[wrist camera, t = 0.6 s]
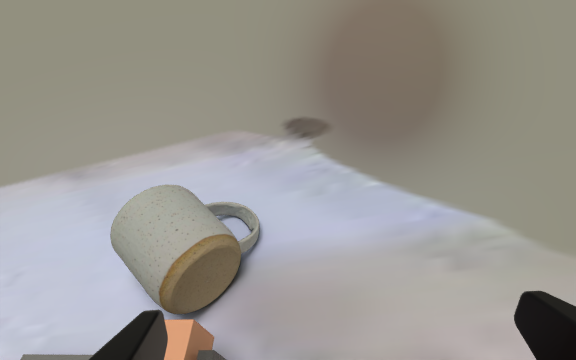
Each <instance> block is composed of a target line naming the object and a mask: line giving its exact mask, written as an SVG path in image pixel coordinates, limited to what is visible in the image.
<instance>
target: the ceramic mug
mask: <svg viewBox="0 0 576 360" xmlns="http://www.w3.org/2000/svg"><path fill="white" fill-rule="evenodd" d="M220 215H231V216H237V217H238V218H241V219H242V220H243V221H244V222H245V223H246V224H247V225H248V226H249V229H250V230H251V231H252V233H251V234H250V235H248V236H247V237H246V238H243V239H242V240H240V241H237V240H236V238H235V236H234V235H233V234H232V232H231V231H230V230H229V229H228V228H227V227H226V226H225V225H224V224H223V223H222V222H221V221H220V220H219V219H218V218H217V217H216V216H220ZM258 235H259V220H258V218H257V216H256V214H255V213H254V212H253V211H252V210H250V209H249V208H248V207H246V206H244V205H241V204H238V203H233V202H216V203H210V204H206V205H204V204H203V203H202V202H201V201H200V200H199V199H198V198H197V197H196V196H195V195H194V194H193V193H192V192H191V191H189V190H188V189H186V188H184V187H181V186H178V185H162V186H156V187H152V188H150V189H147V190H145V191H143V192H141V193H140V194H138V195H136V196H135V197H133V198H132V199H131V200H130V201H128V202H127V203H126V204H125V205H124V206H123V208H122V209H121V210H120V211H119V212H118V214H117V216H116V217H115V219H114V221H113V224H112V227H111V243H112V246H113V248H114V250H115V252H116V253H117V254H118V255H119V257H120V258H121V259H122V260H123V262H124V263H125V265H126V266H127V267H128V269H129V270H130V271H131V272H132V274H133V275H134V276H135V277H136V279H137V280H138V281H139V282H140V284H141V285H142V286H143V288H144V289H145V291H146V292H147V293H148V295H149V296H150V297H151V298H152V299H153V301H154V302H156V303H157V304H158V305H159V306H160V307H161V308H163V309H164V310H166V311H168V312H170V313H173V314H186V313H190V312H194V311H196V310H199V309H201V308H203V307H205V306H207V305H208V304H209V303H211V302H212V301H213V300H215V299H216V298H217V297H218V296H219V295H220V294H221V293H222V292H223V291H224V290H225V289H226V288H227V287H228V285H229V284H230V283H231V282H232V280H233V278H234V276H235V275H236V273H237V270H238V268H239V265H240V259H241V253H244V252H246V251H248V250H249V249H250V248H251V247H252V246H253V245H254V244H255V242H256V241H257V239H258Z"/></svg>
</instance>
